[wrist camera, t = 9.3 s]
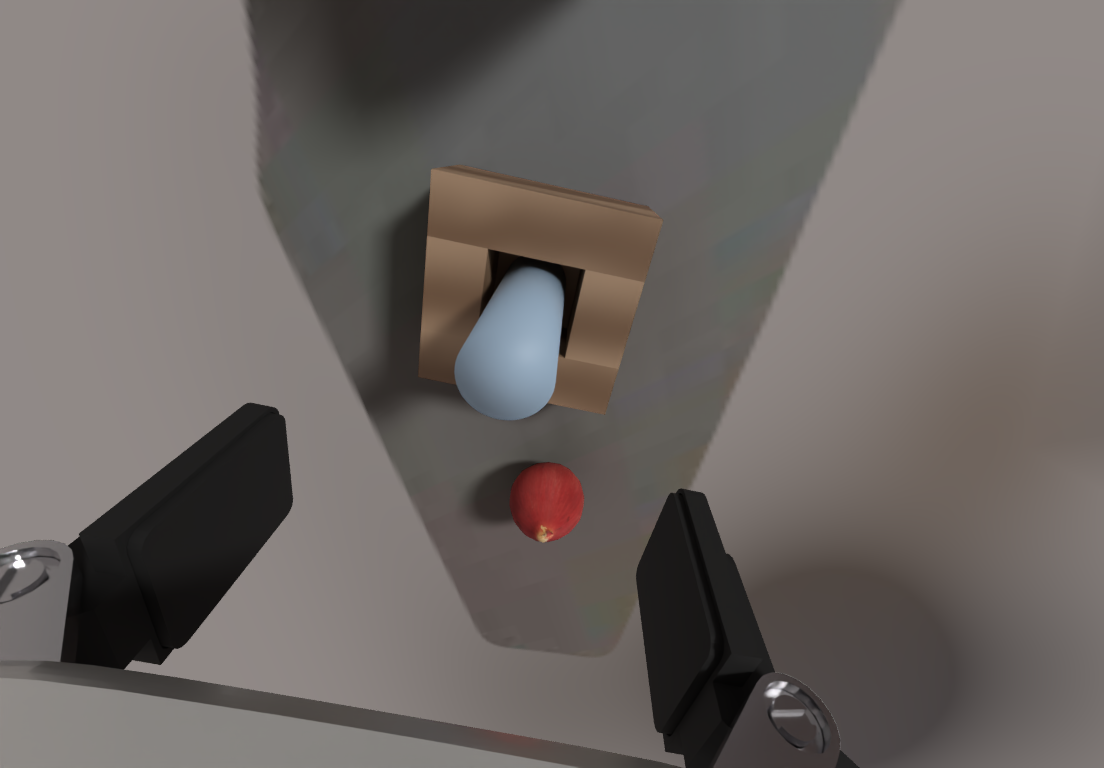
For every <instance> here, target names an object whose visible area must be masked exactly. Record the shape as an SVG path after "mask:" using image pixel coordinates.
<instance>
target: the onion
mask: <svg viewBox="0 0 1104 768" xmlns="http://www.w3.org/2000/svg"><path fill="white" fill-rule="evenodd" d="M583 504H584V495H583V491H582V487H581V483H580V481H579V480H578V479H577V477H576V476H575V475H574V474H573V473H572V472H571V470H570V469H568V468H566V467H565V466H563V465H561V464H557V463H550V462H546V463H537V464H535V465H533V466H530V467H528V468H526V469H525V470H523V471H522V472H521V473H520V474H519V476H518V477H517V478H516V480H515V481H514V483H513V485H512V488H511V494H510V509H511V513H512V516H513V519H514V522H515V523H516V525H517V526H518V527H519V529H520V530H521V531H522V532H523V533H524V534H525V535H526V536H528V537H530V538H532V539H534V540H536V541H540V542H543V543H544V542H550V541H554V540H558V539H559V538H561V537H563V536H565V535H567V534H568V533H569V532H571V530H572V529H573V528H574V527H575V526H576V524H577V523H578V522H579V520H580V518H581V515H582V510H583Z"/></svg>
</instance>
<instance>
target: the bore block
mask: <svg viewBox="0 0 1104 768" xmlns="http://www.w3.org/2000/svg"><path fill="white" fill-rule="evenodd" d="M662 223H663V219H661V218H660V217H659V216H658V215H657V214H656V213H655V212H654V211H652V210H651V209H650V208H649V207H648V206H644V205H639V204H635V203H630V202H626V201H621V200H617V199H612V198H608V197H603V196H599V195H594V194H590V193H585V192H581V191H576V190H572V189H567V188H563V187H558V186H554V185H549V184H545V183H540V182H536V181H531V180H527V179H522V178H517V177H513V176H508V175H504V174H499V173H495V172H490V171H486V170H481V169H477V168H472V167H468V166H463V165H455V166H448V167H441V168H434V169H431V184H430V200H429V215H428V231H427V246H426V261H425V277H424V292H423V307H422V323H421V338H420V354H419V369H418V377H420V378H425V379H430V380H435V381H440V382H445V383H450V384H455V385H457V384H456V380H455V373H454V370H455V362H456V359H457V356H458V354H459V352H460V350H461V348H462V347H463V345H464V343H465V342H466V340H467V338H468V336H469V335H470V333H471V331H472V330H473V328H474V326H475V325H476V323H477V321H478V320H479V318H480V316H481V315H482V313H483V311H484V309H485V308H486V306H487V304H488V303H489V301H490V299H491V298H492V296H493V294H494V293H495V291H496V289H497V287H498V286H499V284H500V282H501V281H502V279H503V277H504V276H505V274H506V272H507V271H508V269H509V267H510V266H511V264H512V263H513V262H514V261H515V260H516V259H517V258H518V257H520V256H524V257H528V258H533V259H538V260H542V261H547V262H552V263H556V264H560V266H561V267H562V269H563V271H564V274H565V278H566V288H565V298H564V307H563V317H562V326H561V336H560V345H559V355H558V364H557V374H556V383H555V388H554V391H553V394H552V396H551V398H550V400H549V401H548V403H550V404H555V405H560V406H565V407H570V408H575V409H580V410H585V411H590V412H594V413H599V414H604V415H605V412H606V409H607V406H608V402H609V399H610V396H611V392H612V389H613V386H614V382H615V379H616V376H617V372H618V369H619V366H620V362H621V359H622V356H623V352H624V349H625V346H626V342H627V339H628V336H629V332H630V329H631V326H632V322H633V319H634V316H635V312H636V309H637V306H638V302H639V299H640V296H641V292H642V289H643V286H644V282H645V279H646V276H647V272H648V269H649V266H650V262H651V259H652V256H653V253H654V249H655V246H656V243H657V239H658V236H659V233H660V229H661V226H662Z"/></svg>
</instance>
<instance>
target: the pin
mask: <svg viewBox="0 0 1104 768" xmlns="http://www.w3.org/2000/svg"><path fill="white" fill-rule="evenodd" d="M565 288H566V278H565V274H564V271H563V269H562V267H561V266H560V264H556V263H552V262H547V261H542V260H538V259H533V258H528V257H524V256H520V257H518V258H517V259H516V260H515V261H514V262H513V263H512V264H511V266H510V267H509V269H508V271H507V272H506V274H505V276H504V277H503V279H502V281H501V282H500V284H499V286H498V287H497V289H496V291H495V293H494V294H493V296H492V298H491V299H490V301H489V303H488V304H487V306H486V308H485V309H484V311H483V313H482V315H481V316H480V318H479V320H478V321H477V323H476V325H475V326H474V328H473V330H472V331H471V333H470V335H469V336H468V338H467V340H466V342H465V343H464V345H463V347H462V348H461V350H460V352H459V354H458V356H457V359H456V362H455V370H454V373H455V380H456V384H457V387H458V389H459V391H460V393H461V395H462V396H463V398H464V399H465V400H466V401H467V402H468V404H469V405H470V406H472V407H473V408H474V409H475V410H477V411H478V412H480V413H482V414H484V415H486V416H489V417H491V418H495V419H500V420H518V419H523V418H526V417H529V416H531V415H533V414H535V413H536V412H538V411H539V410H541V409H542V408H543V407H544V406H545V405H546V404H547V403H548V401H549V400H550V398H551V396H552V394H553V391H554V388H555V383H556V374H557V364H558V355H559V345H560V336H561V326H562V317H563V307H564V298H565Z"/></svg>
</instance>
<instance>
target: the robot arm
mask: <svg viewBox="0 0 1104 768" xmlns="http://www.w3.org/2000/svg"><path fill="white" fill-rule="evenodd" d="M292 503H293V495H292V485H291V474H290V464H289V454H288V444H287V434H286V424H285V418H284V417H283V416H282V415H279V411H278V410H277V409H276V408H274V407H269V406H265V405H260V404H255V403H247V404H245V405H243V406H242V407H241V408H239V409H238V410H237V411H236V412H234V413H233V414H232V415H231V416H229V417H228V418H227V419H225V420H224V421H223V422H221V423H220V424H219V425H218V426H216V427H215V428H214V429H213V430H211V431H210V432H209V433H207V434H206V435H205V436H204V437H202V438H201V439H200V440H198V441H197V442H196V443H195V444H193V445H192V446H191V447H189V448H188V449H187V450H186V451H184V452H183V453H182V454H181V455H179V456H178V457H177V458H175V459H174V460H173V461H171V462H170V463H169V464H168V465H166V466H165V467H164V468H162V469H161V470H160V471H159V472H157V473H156V474H155V475H153V476H152V477H151V478H150V479H148V480H147V481H146V482H145V483H143V484H142V485H141V486H139V487H138V488H137V489H136V490H134V491H133V492H132V493H131V494H129V495H128V496H127V497H125V498H124V499H123V500H121V501H120V502H119V503H118V504H116V505H115V506H114V507H113V508H111V509H110V510H109V511H107V512H106V513H105V514H104V515H102V516H101V517H100V518H98V519H97V520H96V521H95V522H93V523H92V524H91V525H89V526H88V527H87V528H86V529H84V530H83V531H82V532H80V533H79V535H80V537H78V538H77V539H76V540H75V541H73V542H72V543H71V544H69V545H68V546H67V545H66V544H64V543H61V542H57V541H54V540H34V541H29V542H23V543H17V544H14V545H11V546H8V547H4V548H1V549H0V768H681V767H677V766H674V765H669V764H666V763H662V762H657V761H652V760H647V759H642V758H637V757H632V756H626V755H621V754H617V753H611V752H606V751H601V750H596V749H591V748H586V747H581V746H575V745H569V744H564V743H558V742H552V741H547V740H541V739H535V738H530V737H524V736H518V735H513V734H507V733H501V732H496V731H490V730H484V729H479V728H473V727H467V726H462V725H456V724H450V723H444V722H438V721H432V720H427V719H421V718H415V717H410V716H404V715H398V714H392V713H386V712H380V711H375V710H368V709H363V708H357V707H351V706H345V705H339V704H333V703H327V702H322V701H316V700H310V699H304V698H298V697H292V696H286V695H280V694H274V693H268V692H262V691H255V690H249V689H243V688H237V687H232V686H225V685H219V684H213V683H207V682H201V681H195V680H189V679H183V678H177V677H170V676H163V675H156V674H150V673H143V672H136V671H129V670H124V669H125V668H126V666H127V665H128V664H129V663H130V662H131V661H132V660H135V661H141V662H147V663H152V664H158V665H161V664H162V663H163V662H164V660H165V659H166V658H167V656H168V655H169V654H170V653H171V652H172V650H173V649H174V648H176V649H178V648H180V647H182V646H183V645H185V644H186V643H187V642H188V640H189V639H190V638H191V637H192V636H193V634H194V633H195V632H196V630H197V629H198V628H199V626H200V625H201V624H202V623H203V621H204V620H205V619H206V618H207V616H208V615H209V614H210V613H211V611H212V610H213V609H214V607H215V606H216V605H217V604H218V603H219V601H220V600H221V599H222V597H223V596H224V595H225V594H226V592H227V591H228V590H229V589H230V587H231V586H232V585H233V583H234V582H235V581H236V580H237V578H238V577H239V576H240V575H241V573H242V572H243V571H244V570H245V568H246V567H247V566H248V564H249V563H250V562H251V561H252V559H253V558H254V557H255V556H256V554H257V553H258V552H259V550H260V549H261V548H262V547H263V545H264V544H265V543H266V542H267V540H268V539H269V538H270V536H271V535H272V534H273V532H274V531H275V530H276V529H277V528H278V526H279V525H280V524H281V522H282V521H283V520H284V519H285V517H286V516H287V515H288V513H289V511H290V509H291V507H292ZM636 582H637V590H638V598H639V606H640V614H641V622H642V630H643V637H644V646H645V654H646V662H647V670H648V678H649V686H650V694H651V702H652V710H653V718H654V724H655V728H656V730H657V732H659V733H663V738H664V745H665V751H666V752H670V753H676V754H682V755H684V760H685V766H686V768H859V767H858V766H857V765H856V764H855V763H854V762H853V761H852V760H850V759H849V758H848V757H847V756H846V755H845V754H844V753H843V752H842V751H841V750H840V741H841V740H840V736H839V732H838V728H837V725H836V723H835V721H834V719H833V717H832V715H831V713H830V711H829V710H828V708H827V707H826V706H825V704H824V703H823V702H822V700H821V699H820V698H819V697H818V696H817V695H816V694H815V693H814V692H813V691H812V690H811V689H810V688H809V687H808V686H806V685H805V684H803V683H802V682H800V681H799V680H797V679H796V678H794V677H791V676H788V675H786V674H783V673H775V671H774V668H773V665H772V663H771V660H770V657H769V654H768V652H767V649H766V646H765V643H764V641H763V638H762V635H761V632H760V630H759V627H758V624H757V621H756V619H755V616H754V614H753V610H752V608H751V605H750V602H749V600H748V597H747V594H746V591H745V589H744V586H743V583H742V580H741V578H740V575H739V572H738V570H737V567H736V564H735V562H734V560H733V558H732V557H731V556H730V555H729V554H726V553H725V550H724V547H723V544H722V541H721V538H720V536H719V533H718V530H717V527H716V524H715V521H714V518H713V516H712V513H711V510H710V507H709V505H708V501H707V499H706V496H705V494H703V493H701V492H696V491H691V490H686V489H679V490H678V491H677V492H676V494H675V493H670V494H669V496H668V498H667V500H666V502H665V505H664V507H663V509H662V512H661V514H660V516H659V518H658V521H657V523H656V525H655V528H654V530H653V532H652V535H651V537H650V539H649V541H648V544H647V546H646V548H645V551H644V553H643V555H642V558H641V560H640V562H639V564H638V568H637V573H636Z"/></svg>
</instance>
